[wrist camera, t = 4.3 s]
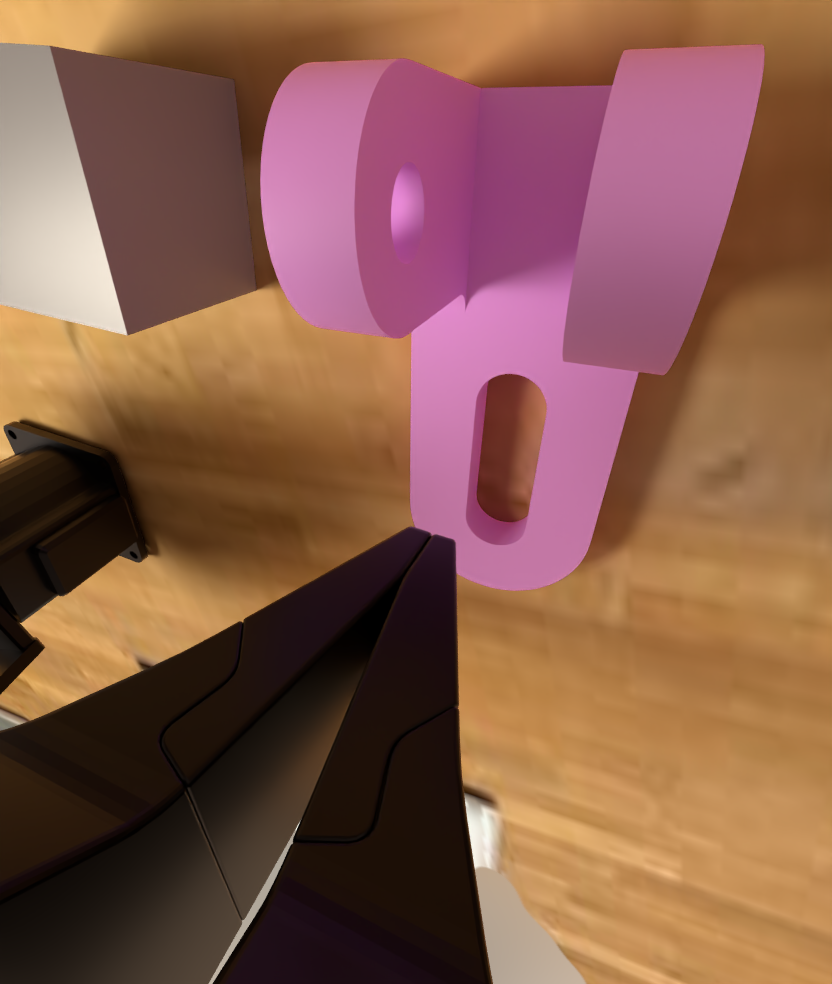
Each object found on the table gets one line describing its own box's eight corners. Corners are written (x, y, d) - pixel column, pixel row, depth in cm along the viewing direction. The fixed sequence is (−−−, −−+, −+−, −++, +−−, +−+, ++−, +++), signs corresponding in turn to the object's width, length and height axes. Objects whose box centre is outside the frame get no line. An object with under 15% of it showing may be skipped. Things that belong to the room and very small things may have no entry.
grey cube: (130, 264, 16) (-26, 298, 13) (82, 68, 14) (-141, 34, 10) (258, 289, 15) (127, 335, 11) (236, 79, 12) (49, 45, 8)
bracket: (436, 95, 11) (237, 40, 6) (712, 91, 9) (797, 7, 4) (423, 540, 18) (331, 699, 13) (576, 580, 17) (542, 780, 11)
